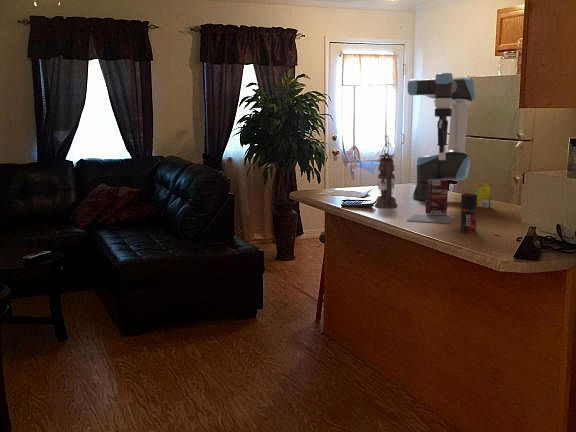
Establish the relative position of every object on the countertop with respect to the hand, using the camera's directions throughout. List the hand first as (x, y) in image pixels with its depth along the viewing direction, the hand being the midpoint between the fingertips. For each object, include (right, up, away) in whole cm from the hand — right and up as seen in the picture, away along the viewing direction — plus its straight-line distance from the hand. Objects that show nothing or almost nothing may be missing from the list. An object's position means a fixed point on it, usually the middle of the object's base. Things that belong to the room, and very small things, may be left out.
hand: (441, 159), depth 288 cm
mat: (-8, -28, -14) cm, 32 cm away
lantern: (-22, -22, +21) cm, 38 cm away
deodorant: (0, -33, -41) cm, 52 cm away
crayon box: (+23, -22, +15) cm, 35 cm away
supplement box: (-4, -26, -5) cm, 26 cm away
